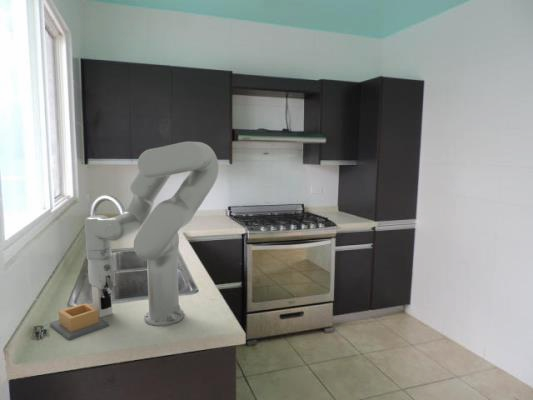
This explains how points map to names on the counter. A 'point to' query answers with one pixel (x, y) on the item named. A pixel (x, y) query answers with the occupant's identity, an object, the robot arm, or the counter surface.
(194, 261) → the counter surface
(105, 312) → the white plug
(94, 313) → the socket block
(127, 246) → the counter surface
